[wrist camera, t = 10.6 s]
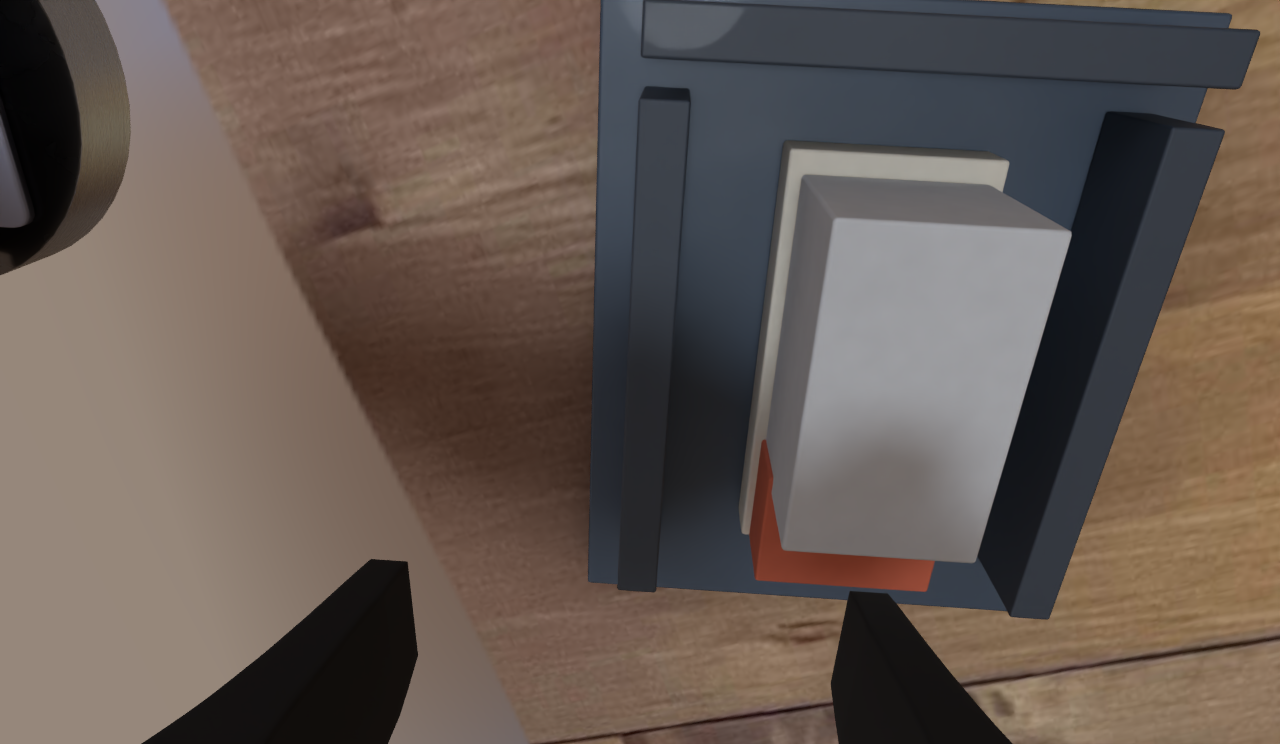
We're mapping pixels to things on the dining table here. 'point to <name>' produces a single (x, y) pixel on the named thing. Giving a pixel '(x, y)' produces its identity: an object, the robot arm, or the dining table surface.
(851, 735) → the robot arm
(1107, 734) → the dining table surface
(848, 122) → the dark grey flat tray
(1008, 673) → the dining table surface
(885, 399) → the white box
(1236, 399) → the dining table surface
